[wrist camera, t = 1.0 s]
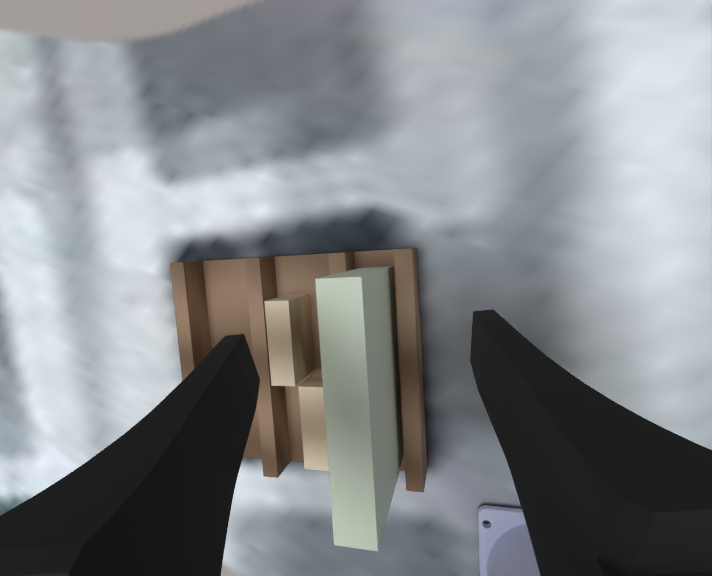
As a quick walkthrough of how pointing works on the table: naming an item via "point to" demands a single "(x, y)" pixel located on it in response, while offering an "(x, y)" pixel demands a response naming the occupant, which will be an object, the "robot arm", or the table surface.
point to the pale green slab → (360, 400)
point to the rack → (297, 276)
